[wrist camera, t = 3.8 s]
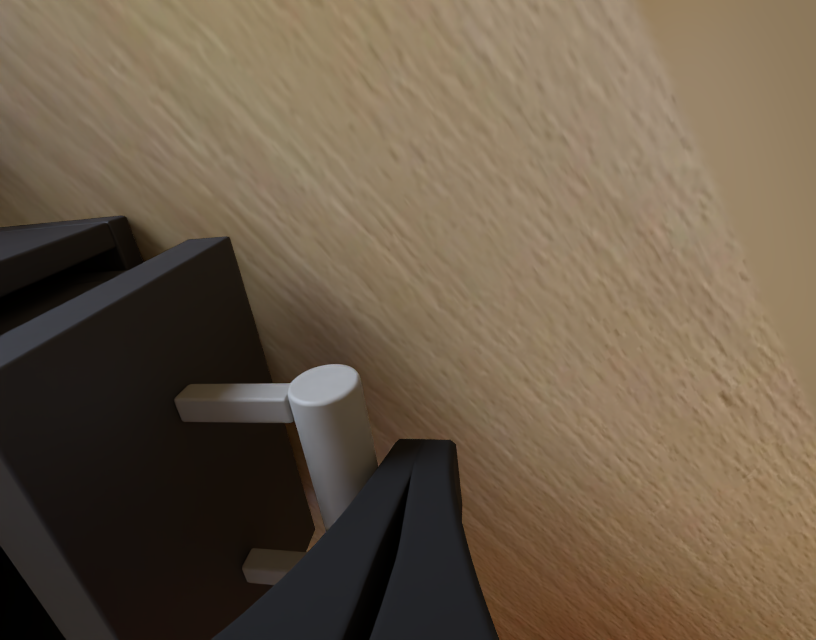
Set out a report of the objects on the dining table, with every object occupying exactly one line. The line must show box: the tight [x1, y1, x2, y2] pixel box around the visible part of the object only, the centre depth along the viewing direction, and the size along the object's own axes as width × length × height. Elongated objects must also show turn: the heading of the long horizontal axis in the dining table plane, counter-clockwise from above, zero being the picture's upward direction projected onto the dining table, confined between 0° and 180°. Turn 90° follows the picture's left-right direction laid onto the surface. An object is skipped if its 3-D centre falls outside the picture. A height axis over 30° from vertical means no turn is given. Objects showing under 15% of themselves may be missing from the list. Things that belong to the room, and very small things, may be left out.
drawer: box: [0, 237, 378, 640], centre depth 12 cm, size 14×10×7 cm
